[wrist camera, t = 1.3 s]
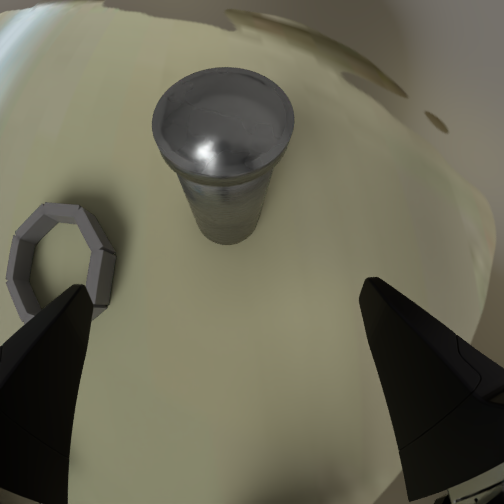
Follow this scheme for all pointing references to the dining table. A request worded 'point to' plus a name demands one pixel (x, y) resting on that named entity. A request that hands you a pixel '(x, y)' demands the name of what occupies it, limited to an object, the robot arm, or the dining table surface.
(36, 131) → the dining table surface
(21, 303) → the collar
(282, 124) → the metal canister
